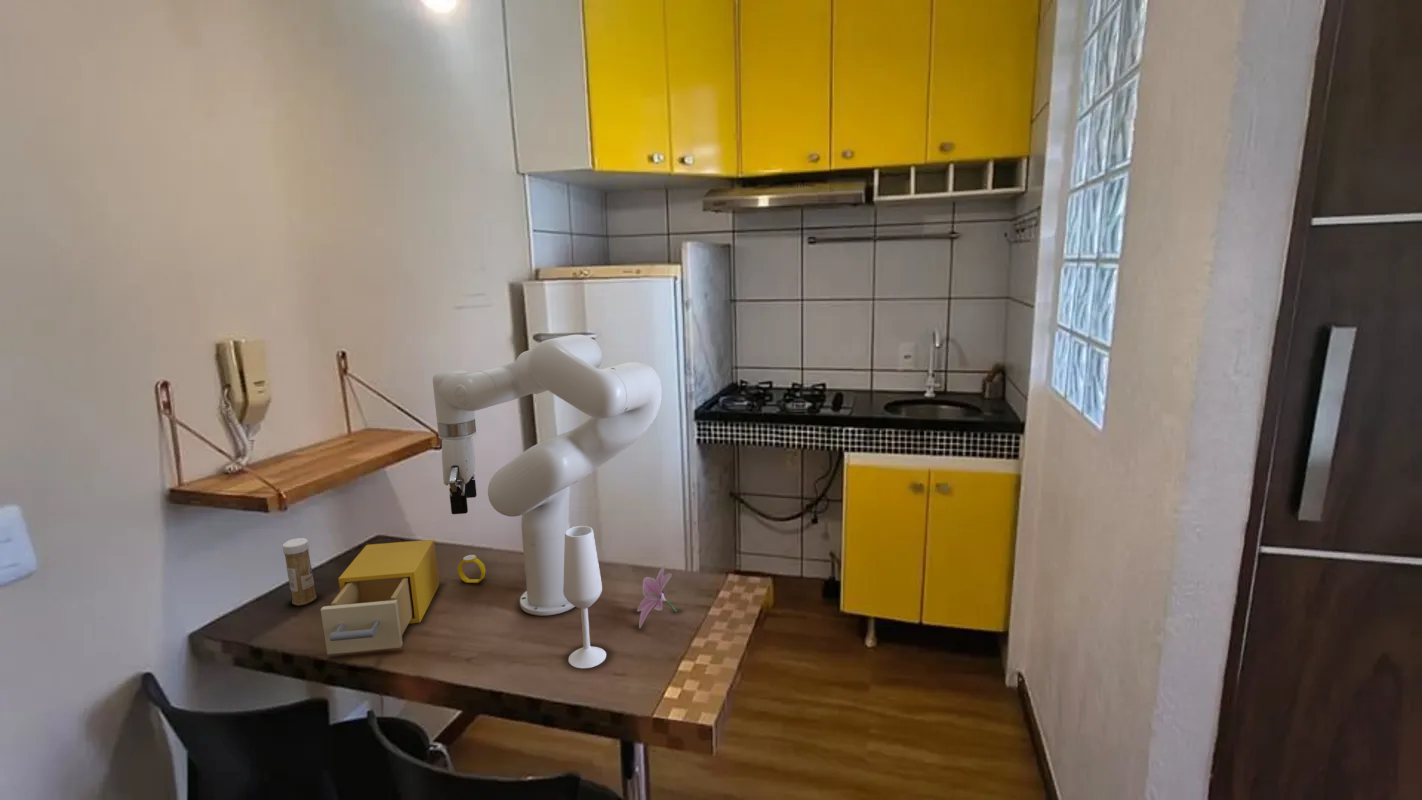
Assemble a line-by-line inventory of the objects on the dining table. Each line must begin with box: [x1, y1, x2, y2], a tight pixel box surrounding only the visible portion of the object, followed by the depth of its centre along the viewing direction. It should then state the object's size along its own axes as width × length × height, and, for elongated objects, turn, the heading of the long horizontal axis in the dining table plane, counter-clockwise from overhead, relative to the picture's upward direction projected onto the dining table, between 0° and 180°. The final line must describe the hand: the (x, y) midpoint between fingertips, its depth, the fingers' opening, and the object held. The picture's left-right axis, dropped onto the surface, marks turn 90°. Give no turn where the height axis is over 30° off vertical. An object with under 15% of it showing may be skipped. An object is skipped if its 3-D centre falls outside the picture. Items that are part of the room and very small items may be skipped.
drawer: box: [320, 577, 414, 655], centre depth 126 cm, size 19×13×9 cm, turn 9°
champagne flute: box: [563, 525, 607, 669], centre depth 118 cm, size 7×7×24 cm
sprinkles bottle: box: [282, 537, 317, 607], centre depth 141 cm, size 5×5×14 cm
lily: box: [636, 564, 677, 629], centre depth 133 cm, size 12×12×10 cm
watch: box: [457, 554, 487, 584], centre depth 149 cm, size 6×3×6 cm, turn 80°
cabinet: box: [338, 539, 440, 625], centre depth 139 cm, size 16×14×11 cm
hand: (464, 505), depth 146 cm, fingers open, 9 cm apart
